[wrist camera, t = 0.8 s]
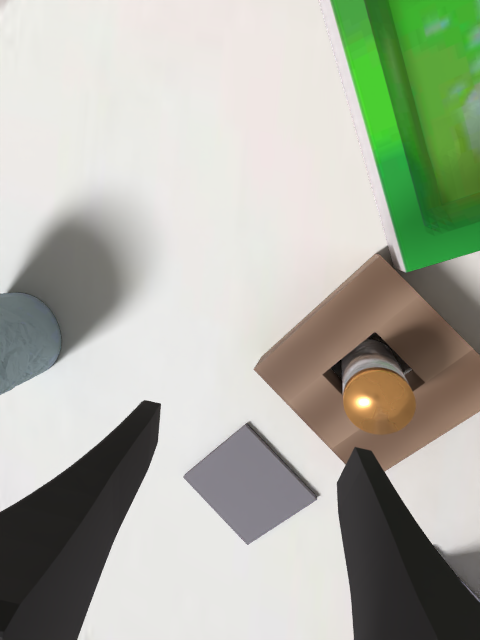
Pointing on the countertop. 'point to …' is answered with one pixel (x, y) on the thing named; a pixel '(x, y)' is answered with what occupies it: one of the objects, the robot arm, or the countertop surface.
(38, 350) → the grey cup
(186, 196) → the countertop surface
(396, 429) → the glass jar
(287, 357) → the housing
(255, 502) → the mat
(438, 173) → the tray
